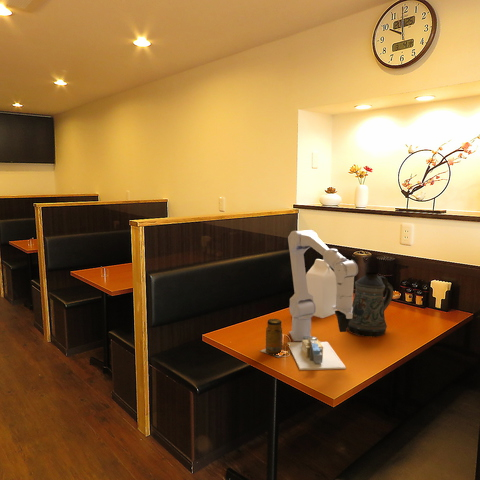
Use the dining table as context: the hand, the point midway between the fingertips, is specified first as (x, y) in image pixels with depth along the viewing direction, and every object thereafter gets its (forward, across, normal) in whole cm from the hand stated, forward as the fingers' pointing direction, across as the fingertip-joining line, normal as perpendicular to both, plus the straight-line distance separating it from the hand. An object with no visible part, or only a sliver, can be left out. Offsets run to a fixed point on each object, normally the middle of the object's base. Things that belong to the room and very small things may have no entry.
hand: (342, 331), depth 147 cm
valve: (+10, -2, -10) cm, 15 cm away
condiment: (+11, -6, -23) cm, 26 cm away
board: (+10, -2, -9) cm, 14 cm away
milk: (+11, -51, +3) cm, 52 cm away
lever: (+5, +2, -11) cm, 12 cm away
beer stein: (+11, -29, +19) cm, 37 cm away
